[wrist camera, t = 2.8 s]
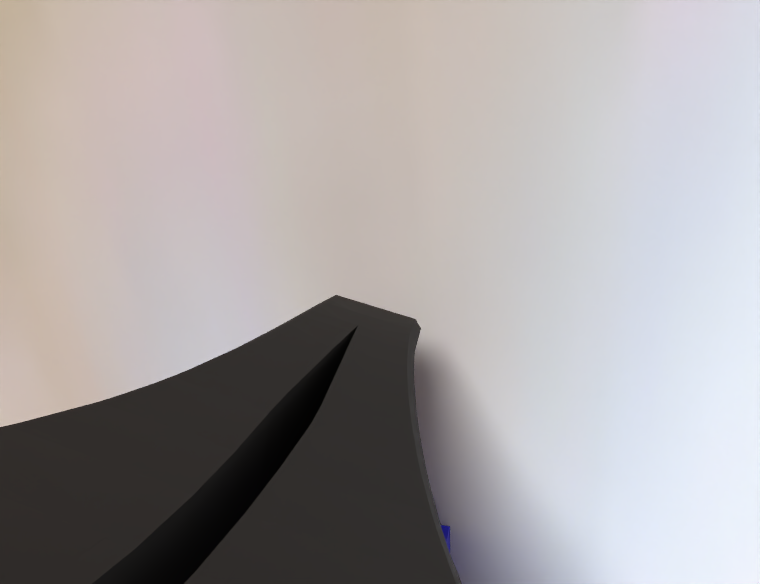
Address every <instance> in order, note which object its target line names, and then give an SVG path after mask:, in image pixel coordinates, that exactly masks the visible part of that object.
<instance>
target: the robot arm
mask: <svg viewBox="0 0 760 584" xmlns="http://www.w3.org/2000/svg"><path fill="white" fill-rule="evenodd" d="M420 330H421V328H420V326H419V325H418V323H417V321H416V319H413V318H410V317H407V316H403V315H400V314H397V313H393V312H390V311H387V310H384V309H380V308H377V307H374V306H370V305H367V304H364V303H361V302H357V301H354V300H351V299H347V298H344V297H341V296H338V295H335V296H333V297H331V298H329V299H327V300H325V301H323V302H322V303H320V304H318V305H316V306H314V307H312V308H311V309H309V310H307V311H305V312H303V313H302V314H300V315H298V316H296V317H295V318H293V319H291V320H289V321H287V322H285V323H284V324H282V325H280V326H278V327H276V328H275V329H273V330H271V331H269V332H267V333H265V334H263V335H261V336H259V337H257V338H255V339H253V340H252V341H250V342H248V343H246V344H244V345H242V346H240V347H238V348H236V349H234V350H232V351H229V352H227V353H225V354H223V355H221V356H218V357H216V358H214V359H212V360H210V361H207V362H205V363H203V364H201V365H198V366H196V367H194V368H192V369H190V370H187V371H185V372H182V373H180V374H177V375H175V376H172V377H170V378H167V379H165V380H162V381H159V382H157V383H154V384H151V385H148V386H145V387H142V388H139V389H136V390H134V391H131V392H128V393H125V394H122V395H119V396H116V397H113V398H110V399H106V400H103V401H100V402H96V403H93V404H89V405H85V406H81V407H78V408H74V409H70V410H66V411H63V412H59V413H55V414H51V415H48V416H44V417H40V418H36V419H33V420H29V421H25V422H21V423H17V424H13V425H8V426H4V427H0V584H461V581H460V579H459V576H458V574H457V571H456V569H455V566H454V563H453V561H452V558H451V555H450V553H449V550H448V546H447V543H446V540H445V537H444V534H443V531H442V528H441V524H440V521H439V518H438V515H437V511H436V507H435V504H434V500H433V496H432V493H431V489H430V485H429V480H428V476H427V472H426V467H425V462H424V457H423V452H422V446H421V440H420V435H419V428H418V420H417V412H416V400H415V388H414V354H415V349H416V345H417V341H418V337H419V333H420Z"/></svg>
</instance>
